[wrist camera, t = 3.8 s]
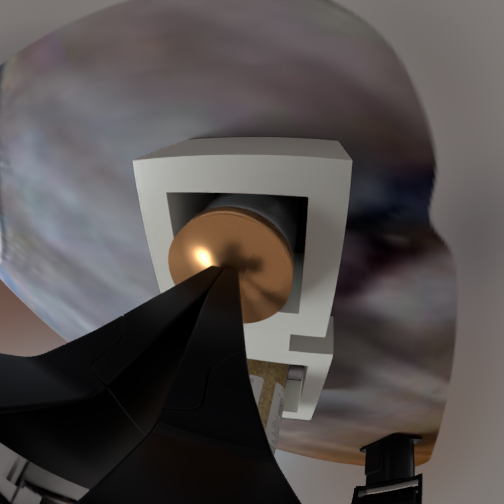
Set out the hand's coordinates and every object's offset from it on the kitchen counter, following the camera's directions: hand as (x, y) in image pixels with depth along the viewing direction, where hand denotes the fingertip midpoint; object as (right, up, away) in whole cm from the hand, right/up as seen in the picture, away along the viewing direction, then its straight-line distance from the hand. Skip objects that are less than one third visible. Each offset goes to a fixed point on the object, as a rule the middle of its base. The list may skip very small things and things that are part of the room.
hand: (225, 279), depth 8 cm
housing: (+1, -2, +8) cm, 8 cm away
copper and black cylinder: (+1, +3, +5) cm, 6 cm away
